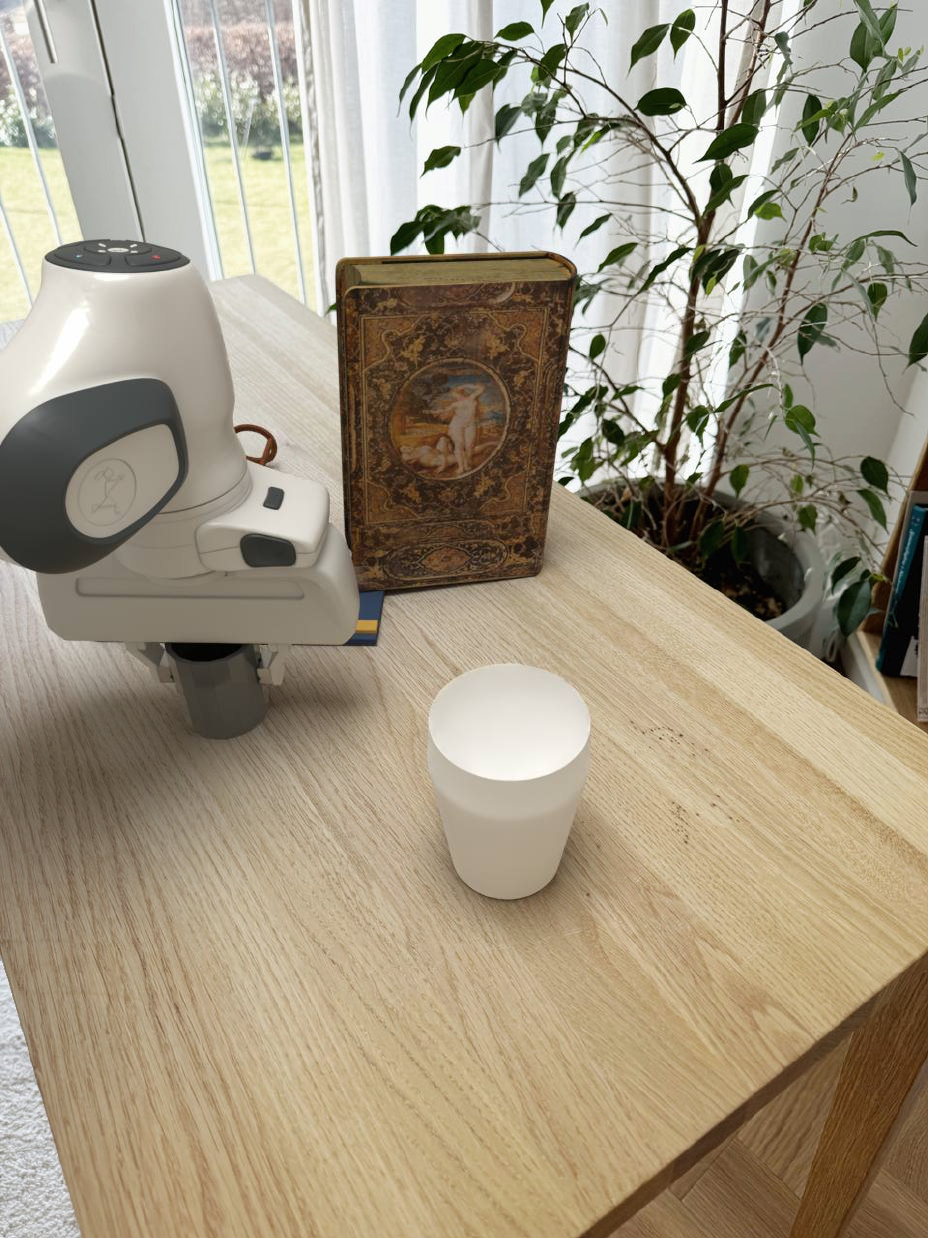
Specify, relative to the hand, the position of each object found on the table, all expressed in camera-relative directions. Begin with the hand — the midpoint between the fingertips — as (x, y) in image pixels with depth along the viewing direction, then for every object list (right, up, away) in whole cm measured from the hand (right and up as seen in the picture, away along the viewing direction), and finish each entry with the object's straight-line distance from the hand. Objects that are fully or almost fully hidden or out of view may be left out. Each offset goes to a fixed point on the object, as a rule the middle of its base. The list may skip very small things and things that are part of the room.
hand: (221, 678), depth 68 cm
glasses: (-8, +15, +23) cm, 29 cm away
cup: (+19, -11, -8) cm, 23 cm away
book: (+15, +9, +14) cm, 23 cm away
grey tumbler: (0, -2, +2) cm, 3 cm away
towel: (-1, +5, +11) cm, 12 cm away
